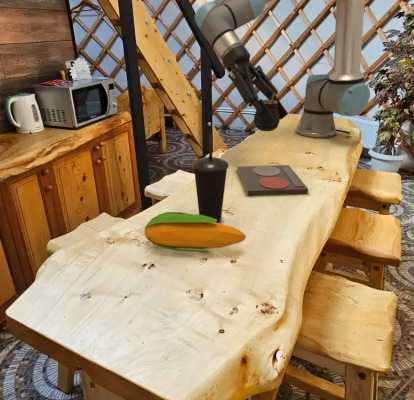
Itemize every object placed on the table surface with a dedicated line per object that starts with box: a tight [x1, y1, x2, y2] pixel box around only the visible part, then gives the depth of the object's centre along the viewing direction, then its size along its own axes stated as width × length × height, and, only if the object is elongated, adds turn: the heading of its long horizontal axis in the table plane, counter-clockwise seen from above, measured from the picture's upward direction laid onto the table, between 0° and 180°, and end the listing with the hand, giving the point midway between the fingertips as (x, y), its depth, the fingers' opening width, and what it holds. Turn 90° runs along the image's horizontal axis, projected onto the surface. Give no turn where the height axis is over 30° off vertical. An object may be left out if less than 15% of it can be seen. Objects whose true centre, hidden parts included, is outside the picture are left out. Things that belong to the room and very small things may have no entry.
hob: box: [236, 164, 309, 197], centre depth 104 cm, size 16×18×2 cm
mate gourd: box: [253, 92, 281, 132], centre depth 104 cm, size 7×8×10 cm
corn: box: [144, 211, 247, 253], centre depth 72 cm, size 7×8×20 cm
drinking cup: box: [192, 133, 229, 224], centre depth 80 cm, size 8×8×20 cm
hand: (277, 119), depth 102 cm, fingers closed on mate gourd, 7 cm apart
